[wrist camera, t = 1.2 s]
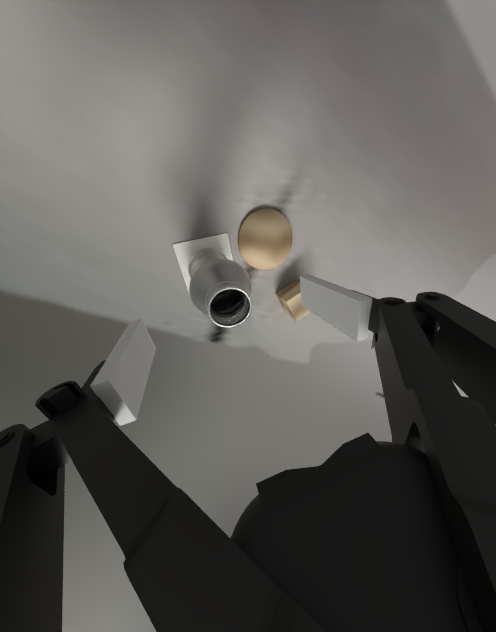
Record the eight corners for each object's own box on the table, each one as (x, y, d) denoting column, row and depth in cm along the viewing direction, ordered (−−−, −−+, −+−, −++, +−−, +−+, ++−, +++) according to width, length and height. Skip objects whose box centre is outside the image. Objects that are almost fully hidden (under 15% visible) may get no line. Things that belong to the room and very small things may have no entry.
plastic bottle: (181, 253, 31) (172, 285, 14) (220, 241, 32) (259, 256, 15) (196, 289, 34) (204, 353, 17) (231, 277, 35) (274, 326, 18)
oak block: (275, 293, 39) (286, 301, 35) (295, 280, 39) (308, 286, 35) (284, 311, 42) (296, 321, 37) (303, 298, 42) (317, 307, 37)
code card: (172, 244, 30) (172, 244, 30) (227, 233, 32) (227, 233, 32) (190, 296, 34) (190, 296, 34) (237, 284, 36) (237, 284, 36)
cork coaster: (232, 214, 31) (233, 214, 30) (288, 204, 33) (290, 203, 32) (243, 274, 36) (244, 275, 35) (292, 262, 37) (293, 262, 37)
